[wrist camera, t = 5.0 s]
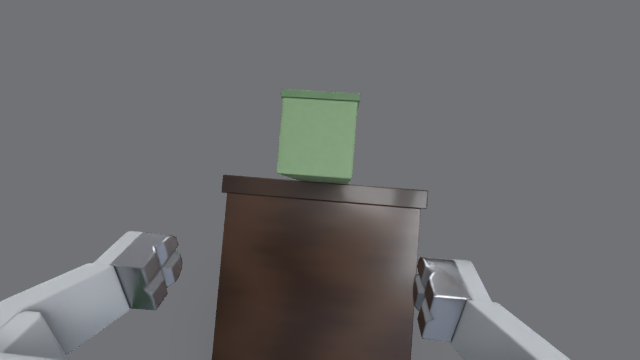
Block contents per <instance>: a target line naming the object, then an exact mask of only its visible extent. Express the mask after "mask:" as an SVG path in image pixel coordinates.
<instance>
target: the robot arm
mask: <svg viewBox="0 0 640 360" xmlns="http://www.w3.org/2000/svg"><path fill="white" fill-rule="evenodd" d="M177 246H178V242H177V239H176V237H175V236H172V235H164V234H156V233H146V232H145V233H144V232H135V231H130V232H127V233H126V234H124V235H123V236H122V237H121V238H120V239H119V240H118V241H117V242H116V243H115V244H114V245H112V246H111V247H110V248H109V249H108V250H107V251H106V252H105V253H104V254H103V255H102V256H100V257H99V258H98V259H97V260H96V261H95V262H94V263H93V264H91V263H87V264H85V265H83V266H81V267H78V268H76V269H74V270H71V271H69V272H67V273H64V274H62V275H60V276H58V277H55V278H53V279H51V280H49V281H46V282H44V283H42V284H40V285H37V286H35V287H32V288H30V289H28V290H26V291H24V292H21V293H19V294H16V295H14V296H12V297H10V298H7V299H5V300H3V301H1V302H0V360H68V358H67V356H66V355H67V354H69V353H70V352H72V351H73V350H74V349H76V348H77V347H79V346H80V345H81V344H83V343H84V342H86V341H87V340H88V339H90V338H91V337H92V336H94V335H95V334H97V333H98V332H100V331H101V330H103V329H104V328H105V327H107V326H108V325H110V324H111V323H112V322H114V321H115V320H117V319H118V318H119V317H121V316H122V315H124V314H125V313H126V312H128V311H129V310H130V308H132V309H145V310H157V308H158V307H159V305H160V304H161V302H162V301H163V300H164V298H165V297H166V295H167V287H169V286H171V285H172V284H174V283H175V282H176V280H177V279H178V277H179V275H180V272H181V269H182V258H181V255H180V254H179V253H178V252H177V251H176V250H175V249H176V248H177ZM417 268H418V272H419V274H418V275H416V276H415V277H414V282H413V301H414V306H415V307H416V308H417V310H418V311H419V315H418V324H419V328H420V332H421V337H422V339H429V340H437V341H444V342H451V345H452V346H453V347H454V348H455V350H456V351H457V352H458V353H459V355H460V356H461V357H462V358H463V359H464V360H570V359H569V358H567V357H566V356H565V355H564V354H562V353H561V352H560V351H559V350H557V349H556V348H555V347H553V346H552V345H551V344H549V343H548V342H547V341H546V340H544V339H543V338H542V337H541V336H539V335H538V334H537V333H535V332H534V331H533V330H532V329H530V328H529V327H528V326H526V325H525V324H524V323H523V322H521V321H520V320H519V319H518V318H516V317H515V316H514V315H512V314H511V313H510V312H508V311H507V310H506V309H505V308H503V307H502V306H501V305H499V304H498V303H494V302H492V301H491V299H490V297H489V295H488V293H487V291H486V289H485V287H484V286H483V284H482V281H481V280H480V278H479V276H478V274H477V272H476V270H475V268H474V266H473V264H472V262H470V261H468V260H449V259H437V258H425V257H420V259H419V261H418V265H417Z"/></svg>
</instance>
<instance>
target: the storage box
mask: <svg viewBox="0 0 640 360" xmlns="http://www.w3.org/2000/svg"><path fill="white" fill-rule="evenodd" d="M281 97H282V99H283V104H282V116H281V128H280V139H279V151H278V164H277V173H278V174H281V175H284V176H287V177H290V178H293V179H296V180H300V181H311V182H323V183H336V184H348V182H349V181H350V180H351V178H352V172H353V158H354V146H355V132H356V119H357V111H358V107H359V102H360V94H359V93H341V92H324V91H306V90H288V89H282V90H281Z"/></svg>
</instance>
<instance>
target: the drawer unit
mask: <svg viewBox="0 0 640 360" xmlns="http://www.w3.org/2000/svg"><path fill="white" fill-rule="evenodd" d="M222 192H223V193H227V201H226V212H225V223H224V233H223V245H222V255H221V266H220V277H219V289H218V299H217V310H216V320H215V332H214V343H213V354H212V360H411V347H412V332H413V317H414V301H413V282H414V277H415V276H416V272H417V256H418V241H419V227H420V210H421V209H427V200H428V191H427V190H414V189H401V188H388V187H375V186H362V185H349V184H336V183H323V182H311V181H298V180H284V179H270V178H259V177H246V176H233V175H223V182H222Z"/></svg>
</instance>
